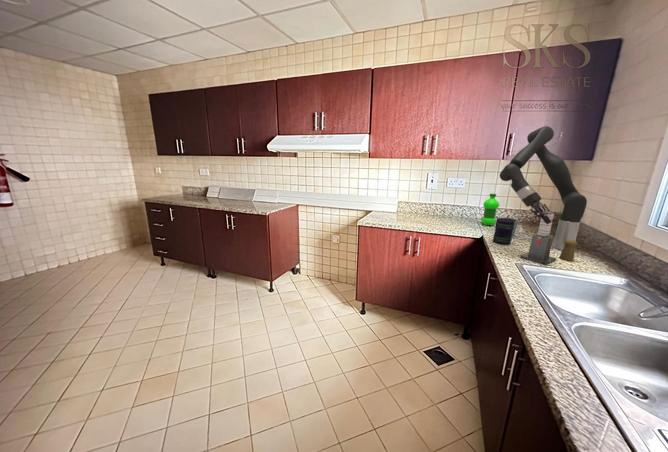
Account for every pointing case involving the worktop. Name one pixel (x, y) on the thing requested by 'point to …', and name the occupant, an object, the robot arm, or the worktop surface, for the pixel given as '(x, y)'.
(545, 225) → the column
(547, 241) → the stand base
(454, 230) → the worktop surface
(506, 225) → the storage jar
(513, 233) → the drinking glass
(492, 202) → the plastic bottle
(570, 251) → the cork
